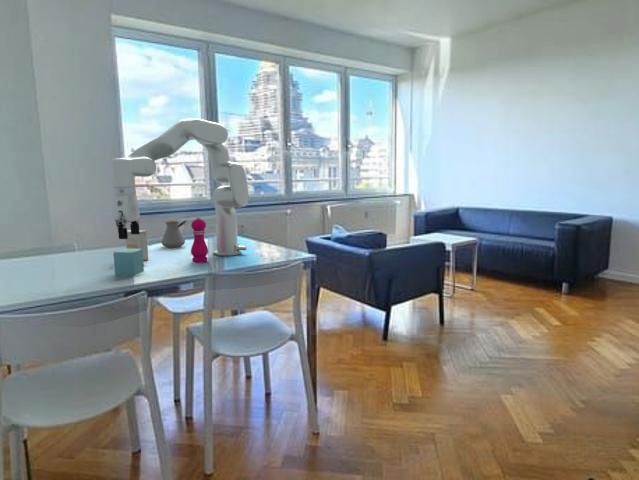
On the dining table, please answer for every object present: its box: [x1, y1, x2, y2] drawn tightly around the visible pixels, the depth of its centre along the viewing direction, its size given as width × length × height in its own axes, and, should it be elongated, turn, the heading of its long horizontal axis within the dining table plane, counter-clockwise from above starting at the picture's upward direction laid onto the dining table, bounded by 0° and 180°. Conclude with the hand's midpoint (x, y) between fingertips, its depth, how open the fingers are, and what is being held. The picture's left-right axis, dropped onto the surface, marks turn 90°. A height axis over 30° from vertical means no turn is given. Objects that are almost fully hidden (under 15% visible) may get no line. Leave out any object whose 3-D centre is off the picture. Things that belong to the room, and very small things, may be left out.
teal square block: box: [113, 248, 145, 276], centre depth 177 cm, size 8×8×9 cm
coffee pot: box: [161, 220, 188, 249], centre depth 229 cm, size 21×12×15 cm, turn 42°
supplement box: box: [125, 229, 149, 262], centre depth 201 cm, size 8×5×13 cm, turn 65°
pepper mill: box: [190, 215, 209, 264], centre depth 197 cm, size 7×7×20 cm
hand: (129, 236), depth 176 cm, fingers open, 9 cm apart
